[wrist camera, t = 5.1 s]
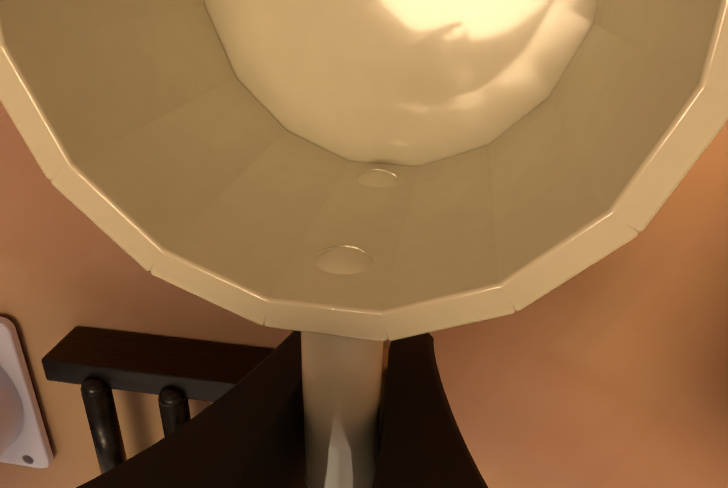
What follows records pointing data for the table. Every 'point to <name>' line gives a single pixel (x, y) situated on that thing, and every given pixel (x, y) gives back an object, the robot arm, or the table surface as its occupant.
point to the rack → (144, 377)
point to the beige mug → (365, 158)
